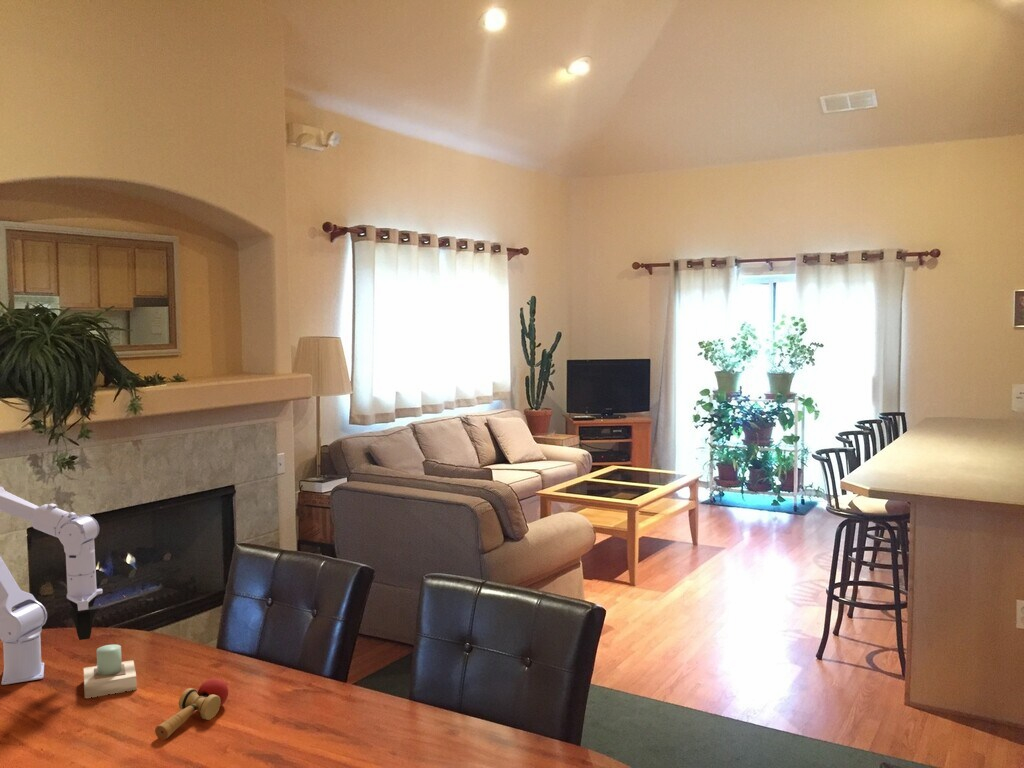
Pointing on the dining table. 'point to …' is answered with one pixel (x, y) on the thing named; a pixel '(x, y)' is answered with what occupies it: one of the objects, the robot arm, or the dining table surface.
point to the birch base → (109, 681)
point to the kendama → (196, 705)
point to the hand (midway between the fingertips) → (84, 633)
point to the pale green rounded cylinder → (109, 660)
